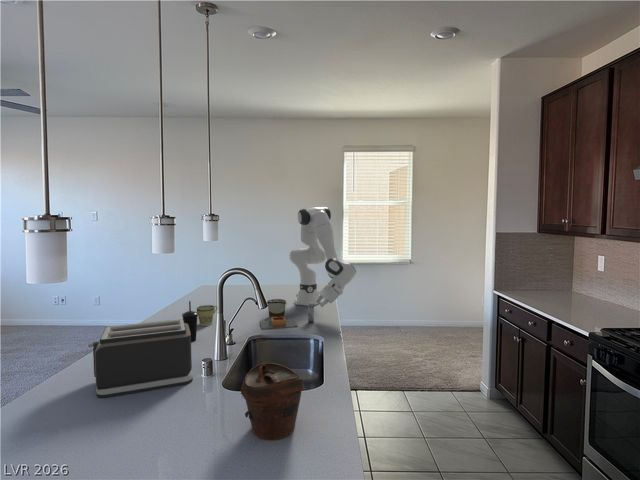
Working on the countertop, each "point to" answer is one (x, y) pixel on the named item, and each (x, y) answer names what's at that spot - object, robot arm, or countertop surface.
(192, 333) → the drinking cup
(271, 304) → the food container
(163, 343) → the toaster
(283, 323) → the grey base plate
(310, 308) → the square-headed pin
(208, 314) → the ceramic cup
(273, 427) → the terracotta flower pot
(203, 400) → the countertop surface
